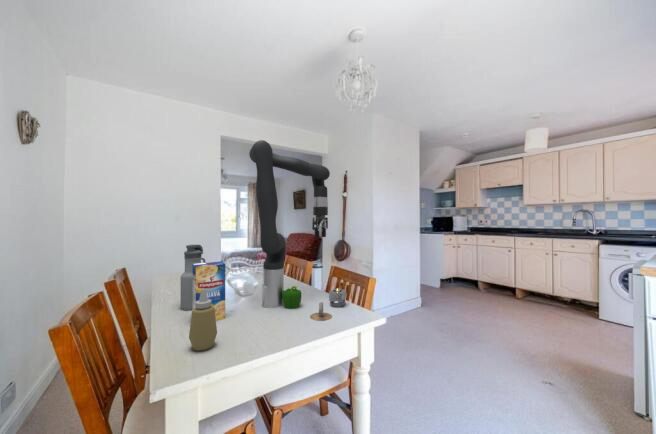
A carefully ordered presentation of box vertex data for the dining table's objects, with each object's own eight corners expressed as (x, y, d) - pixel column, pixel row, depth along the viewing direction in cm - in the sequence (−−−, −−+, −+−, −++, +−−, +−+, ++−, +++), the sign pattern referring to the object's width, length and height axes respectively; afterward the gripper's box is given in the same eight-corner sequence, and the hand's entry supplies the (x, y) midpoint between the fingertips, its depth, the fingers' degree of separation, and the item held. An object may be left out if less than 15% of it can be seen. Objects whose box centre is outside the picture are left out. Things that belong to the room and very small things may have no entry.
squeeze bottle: (195, 341, 87) (195, 286, 87) (220, 340, 88) (220, 286, 88) (184, 353, 79) (184, 293, 79) (212, 352, 80) (212, 293, 80)
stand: (314, 323, 102) (314, 308, 102) (307, 315, 110) (307, 301, 110) (335, 320, 105) (335, 305, 105) (327, 312, 114) (327, 298, 113)
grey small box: (341, 302, 118) (341, 293, 118) (329, 300, 120) (329, 291, 120) (345, 298, 123) (345, 289, 123) (333, 296, 125) (333, 288, 125)
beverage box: (192, 319, 106) (192, 264, 106) (220, 313, 112) (221, 261, 112) (195, 324, 100) (195, 266, 100) (225, 318, 107) (225, 263, 107)
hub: (331, 311, 115) (332, 292, 115) (323, 304, 124) (323, 287, 124) (352, 308, 119) (352, 290, 119) (342, 301, 128) (342, 284, 128)
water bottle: (189, 302, 126) (189, 243, 125) (209, 303, 125) (209, 243, 124) (175, 310, 115) (175, 246, 115) (196, 311, 115) (196, 246, 114)
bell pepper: (279, 306, 120) (279, 284, 120) (295, 303, 125) (295, 282, 125) (287, 312, 113) (288, 289, 113) (304, 308, 118) (304, 286, 118)
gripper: (319, 206, 144) (319, 236, 144) (307, 205, 131) (307, 238, 131) (332, 206, 141) (332, 237, 141) (321, 205, 128) (321, 239, 128)
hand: (320, 237), depth 136 cm, fingers open, 8 cm apart
